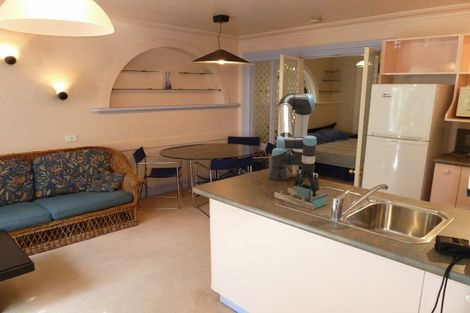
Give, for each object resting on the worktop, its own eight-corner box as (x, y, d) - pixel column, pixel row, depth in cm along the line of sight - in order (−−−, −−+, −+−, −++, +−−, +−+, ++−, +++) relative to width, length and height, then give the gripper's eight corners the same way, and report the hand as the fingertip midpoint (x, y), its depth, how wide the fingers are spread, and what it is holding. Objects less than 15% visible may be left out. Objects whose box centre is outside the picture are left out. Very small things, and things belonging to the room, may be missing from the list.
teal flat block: (323, 203, 200) (324, 193, 198) (326, 204, 198) (327, 194, 197) (309, 208, 190) (309, 198, 188) (312, 209, 188) (312, 199, 187)
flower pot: (315, 201, 200) (316, 186, 199) (307, 204, 194) (309, 189, 192) (302, 197, 206) (303, 183, 204) (295, 200, 200) (296, 186, 198)
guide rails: (289, 192, 218) (289, 185, 217) (326, 204, 198) (327, 196, 197) (274, 197, 208) (274, 189, 207) (312, 209, 188) (312, 201, 187)
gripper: (289, 160, 201) (287, 196, 205) (320, 166, 185) (317, 205, 190) (297, 158, 206) (294, 193, 210) (327, 165, 190) (324, 202, 195)
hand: (305, 199), depth 200 cm, fingers closed on flower pot, 9 cm apart
